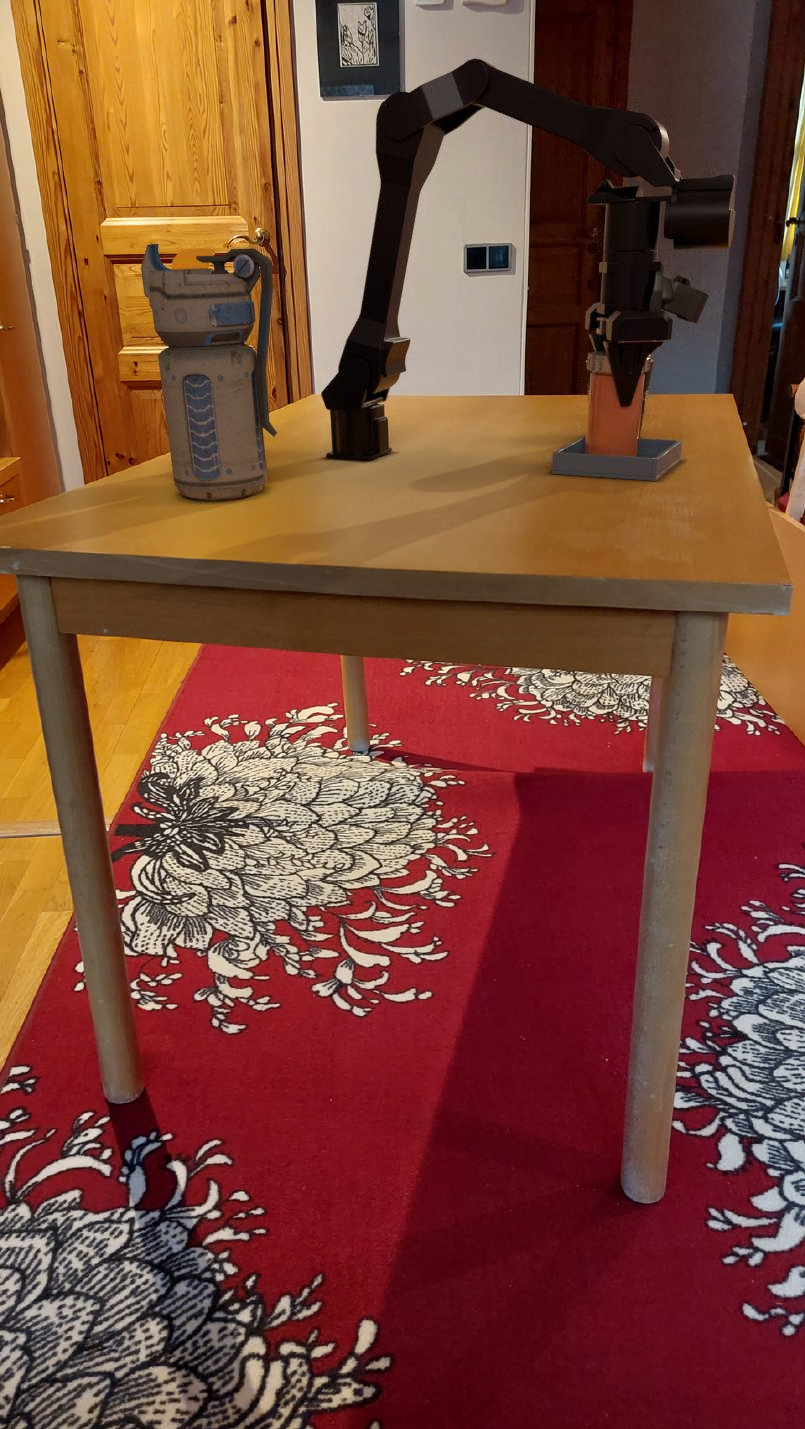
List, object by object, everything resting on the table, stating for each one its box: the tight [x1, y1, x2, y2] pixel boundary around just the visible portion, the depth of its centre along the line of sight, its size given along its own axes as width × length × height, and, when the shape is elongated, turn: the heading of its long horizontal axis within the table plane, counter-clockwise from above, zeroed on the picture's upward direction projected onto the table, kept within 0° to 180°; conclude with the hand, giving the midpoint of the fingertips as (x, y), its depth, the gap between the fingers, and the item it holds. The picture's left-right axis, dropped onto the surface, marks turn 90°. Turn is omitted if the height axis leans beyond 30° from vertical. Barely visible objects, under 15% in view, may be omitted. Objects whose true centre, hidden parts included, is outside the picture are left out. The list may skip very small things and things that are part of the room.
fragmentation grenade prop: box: [140, 243, 278, 502], centre depth 103 cm, size 10×13×25 cm
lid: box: [586, 351, 652, 373], centre depth 110 cm, size 7×7×2 cm
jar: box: [584, 371, 645, 457], centre depth 112 cm, size 6×6×12 cm
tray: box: [551, 435, 683, 482], centre depth 114 cm, size 12×12×2 cm
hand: (620, 402), depth 112 cm, fingers closed on jar, lid, 6 cm apart
